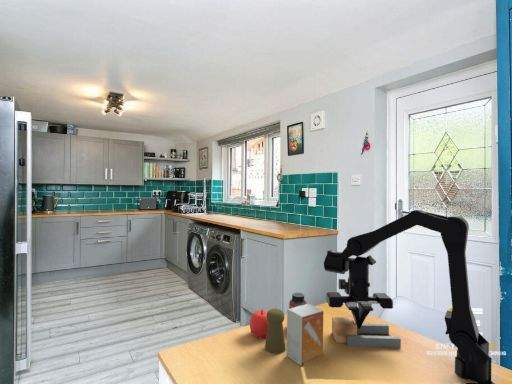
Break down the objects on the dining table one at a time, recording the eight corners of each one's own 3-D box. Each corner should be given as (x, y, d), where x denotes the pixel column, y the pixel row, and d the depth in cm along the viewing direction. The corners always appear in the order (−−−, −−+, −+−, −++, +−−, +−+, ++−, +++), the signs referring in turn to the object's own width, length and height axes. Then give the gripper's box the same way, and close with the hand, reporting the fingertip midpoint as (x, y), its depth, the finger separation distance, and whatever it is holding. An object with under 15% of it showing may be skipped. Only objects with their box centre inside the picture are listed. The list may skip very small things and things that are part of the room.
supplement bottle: (285, 326, 99) (285, 292, 99) (300, 322, 102) (300, 290, 102) (295, 333, 94) (295, 298, 94) (310, 330, 97) (310, 295, 97)
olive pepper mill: (261, 350, 84) (261, 312, 84) (270, 341, 89) (270, 304, 89) (280, 356, 81) (281, 316, 81) (288, 346, 86) (289, 308, 86)
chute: (386, 334, 94) (386, 323, 94) (400, 351, 84) (400, 338, 84) (339, 333, 94) (339, 322, 94) (347, 349, 85) (348, 337, 85)
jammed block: (351, 333, 92) (351, 317, 92) (356, 343, 86) (357, 326, 86) (331, 332, 93) (331, 317, 93) (336, 342, 87) (336, 325, 87)
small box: (301, 367, 76) (302, 317, 76) (285, 355, 81) (286, 308, 81) (323, 357, 81) (324, 310, 81) (307, 347, 86) (307, 302, 86)
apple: (244, 335, 93) (244, 310, 93) (259, 326, 99) (259, 302, 99) (264, 343, 88) (264, 317, 88) (279, 333, 94) (279, 308, 94)
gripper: (379, 270, 97) (379, 317, 97) (322, 269, 98) (322, 316, 98) (394, 280, 86) (393, 333, 86) (330, 279, 87) (329, 332, 87)
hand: (358, 328), depth 90 cm, fingers closed
